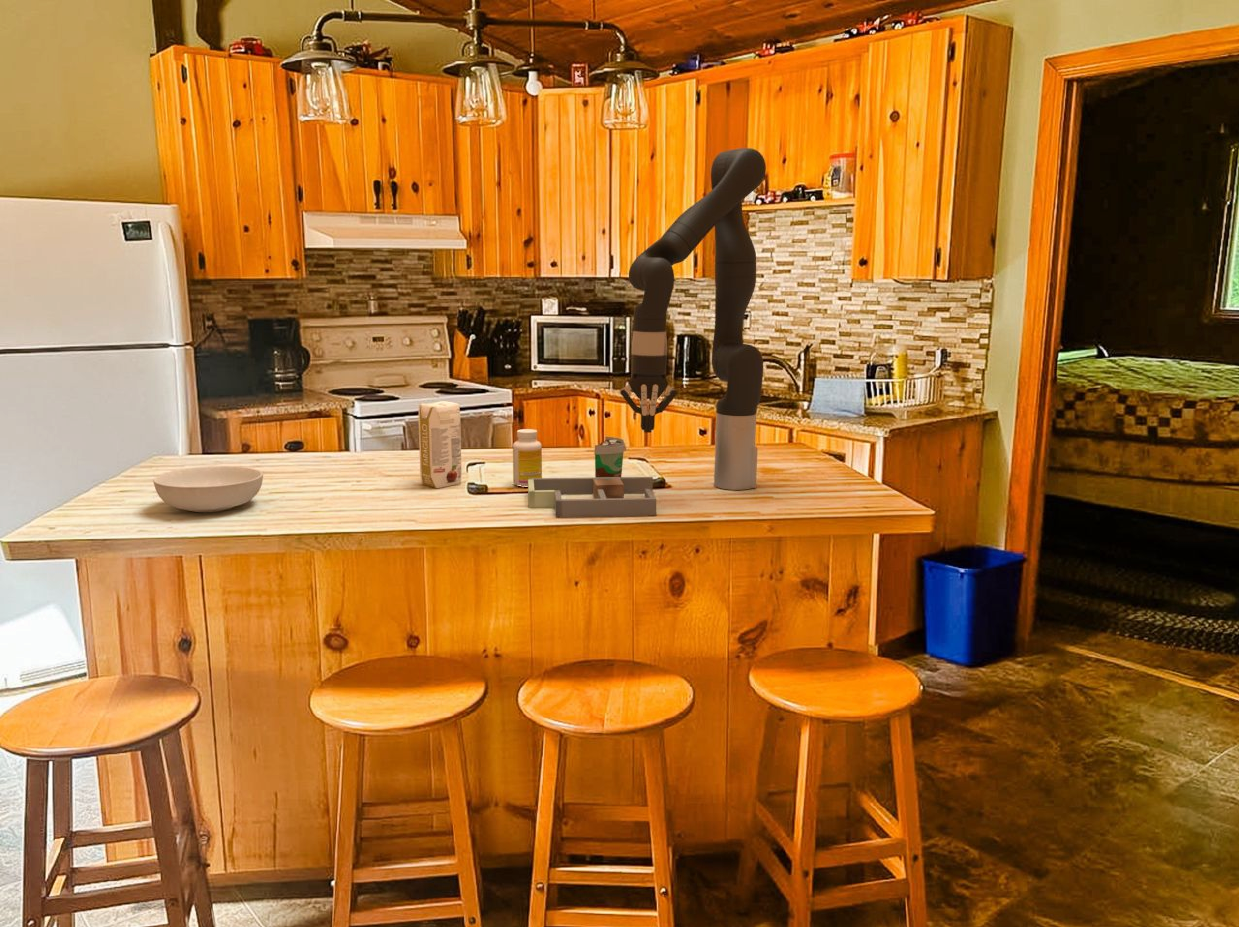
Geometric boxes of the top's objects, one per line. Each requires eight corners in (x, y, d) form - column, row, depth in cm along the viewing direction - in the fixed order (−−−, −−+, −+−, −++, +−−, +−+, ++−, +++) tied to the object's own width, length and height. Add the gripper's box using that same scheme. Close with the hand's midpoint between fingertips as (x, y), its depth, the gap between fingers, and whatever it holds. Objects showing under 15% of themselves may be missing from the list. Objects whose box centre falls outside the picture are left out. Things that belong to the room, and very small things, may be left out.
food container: (620, 489, 218) (620, 446, 216) (594, 488, 219) (594, 445, 217) (630, 478, 230) (631, 437, 228) (605, 476, 231) (605, 436, 229)
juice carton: (466, 483, 222) (464, 403, 218) (435, 489, 215) (433, 407, 211) (446, 478, 227) (444, 399, 223) (416, 484, 220) (413, 403, 216)
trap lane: (651, 491, 216) (652, 476, 215) (665, 515, 196) (666, 499, 195) (528, 493, 213) (528, 478, 212) (529, 517, 193) (529, 501, 192)
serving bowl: (261, 516, 192) (259, 483, 190) (147, 523, 186) (144, 489, 184) (268, 493, 211) (266, 462, 210) (165, 498, 205) (162, 467, 204)
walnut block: (619, 495, 213) (619, 478, 212) (623, 502, 207) (623, 484, 206) (593, 496, 212) (593, 479, 211) (596, 503, 206) (596, 485, 205)
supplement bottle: (547, 485, 221) (547, 431, 218) (523, 489, 217) (523, 434, 214) (531, 480, 226) (531, 427, 223) (507, 484, 222) (507, 430, 219)
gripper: (676, 351, 208) (674, 429, 212) (616, 350, 207) (615, 429, 210) (682, 354, 201) (680, 435, 204) (620, 353, 199) (618, 435, 203)
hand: (647, 432), depth 207 cm, fingers closed
